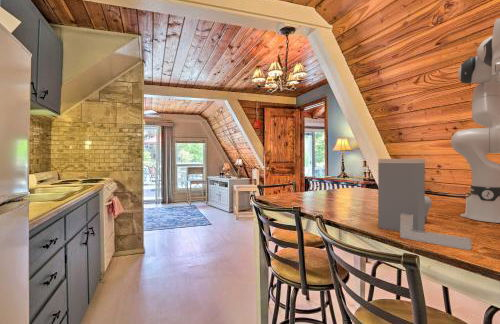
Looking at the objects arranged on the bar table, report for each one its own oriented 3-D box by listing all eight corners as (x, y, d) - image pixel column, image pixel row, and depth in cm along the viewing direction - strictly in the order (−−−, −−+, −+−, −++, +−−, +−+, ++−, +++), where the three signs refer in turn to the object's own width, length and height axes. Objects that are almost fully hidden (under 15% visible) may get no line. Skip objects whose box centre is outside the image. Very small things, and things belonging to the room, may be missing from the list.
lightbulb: (434, 224, 108) (434, 196, 108) (417, 223, 110) (417, 196, 109) (428, 220, 114) (428, 194, 114) (411, 220, 115) (412, 194, 115)
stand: (387, 223, 110) (387, 158, 110) (424, 229, 101) (424, 158, 101) (378, 227, 103) (378, 158, 103) (417, 234, 94) (417, 158, 94)
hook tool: (402, 236, 92) (402, 213, 92) (471, 248, 80) (471, 221, 80) (400, 238, 90) (400, 214, 90) (470, 251, 78) (470, 223, 77)
